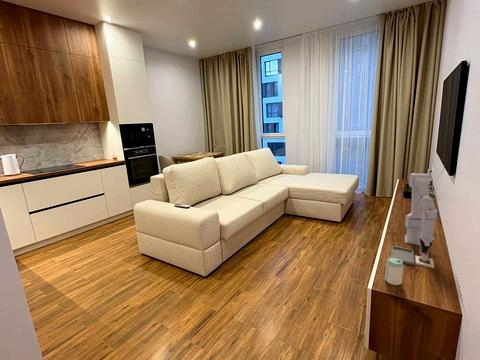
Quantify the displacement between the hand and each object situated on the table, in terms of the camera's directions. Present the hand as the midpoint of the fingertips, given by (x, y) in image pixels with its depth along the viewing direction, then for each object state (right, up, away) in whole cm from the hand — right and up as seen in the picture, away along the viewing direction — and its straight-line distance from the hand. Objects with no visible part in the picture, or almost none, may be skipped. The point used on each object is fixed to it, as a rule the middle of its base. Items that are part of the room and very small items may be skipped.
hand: (423, 251), depth 145 cm
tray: (-11, -3, +2) cm, 12 cm away
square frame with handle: (-2, -4, -3) cm, 6 cm away
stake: (-3, -5, -5) cm, 8 cm away
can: (-29, -10, -19) cm, 36 cm away
